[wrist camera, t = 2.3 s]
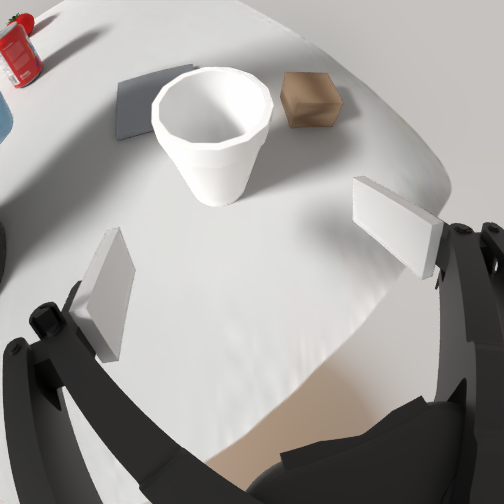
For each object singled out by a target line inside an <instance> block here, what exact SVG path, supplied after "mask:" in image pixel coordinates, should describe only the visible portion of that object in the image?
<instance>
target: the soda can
mask: <svg viewBox="0 0 504 504" xmlns="http://www.w3.org/2000/svg"><path fill="white" fill-rule="evenodd" d="M0 67H1V68H2V70H3V71H4V73H5V74H6V76H7V77H8V79H9V80H10V81H11V83H12V84H13V86H14V87H15V88H21V87H24V86H26V85H28V84H29V83H31V82H32V81H33V80H34V79H35V78H36V77H37V76H38V75H39V73H40V71H41V70H42V68H43V63H42V61H41V60H40V58H39V56H38V54H37V52H36V50H35V49H34V47H33V45H32V43H31V41H30V39H29V37H28V35H27V34H26V32H25V30H24V28H23V26H22V25H20V24H17V22H13V23H11V24H10V25H8V26H7V27H5V28H4V29H3V30H2V31H0Z"/></svg>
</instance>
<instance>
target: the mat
mask: <svg viewBox="0 0 504 504" xmlns="http://www.w3.org/2000/svg"><path fill="white" fill-rule="evenodd" d="M190 71H194V67H193V64H189V65H184V66H179V67H175V68H170V69H166V70H162V71H158V72H154V73H150V74H146V75H143V76H139V77H136V78H132V79H129V80H126V81H123V82H120V83H118V91H117V109H116V139H117V141H119V140H123V139H126V138H129V137H132V136H136V135H139V134H143V133H146V132H150V131H154V128H153V126H152V123H151V121H152V103H153V101H154V100H155V98H156V97H157V95H158V94H159V92H160V91H161V89H162V88H163V86H165V85H166V84H168V83H169V82H171V81H172V80H174V79H175V78H177V77H178V76H180V75H181V74H183V73H187V72H190Z"/></svg>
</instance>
